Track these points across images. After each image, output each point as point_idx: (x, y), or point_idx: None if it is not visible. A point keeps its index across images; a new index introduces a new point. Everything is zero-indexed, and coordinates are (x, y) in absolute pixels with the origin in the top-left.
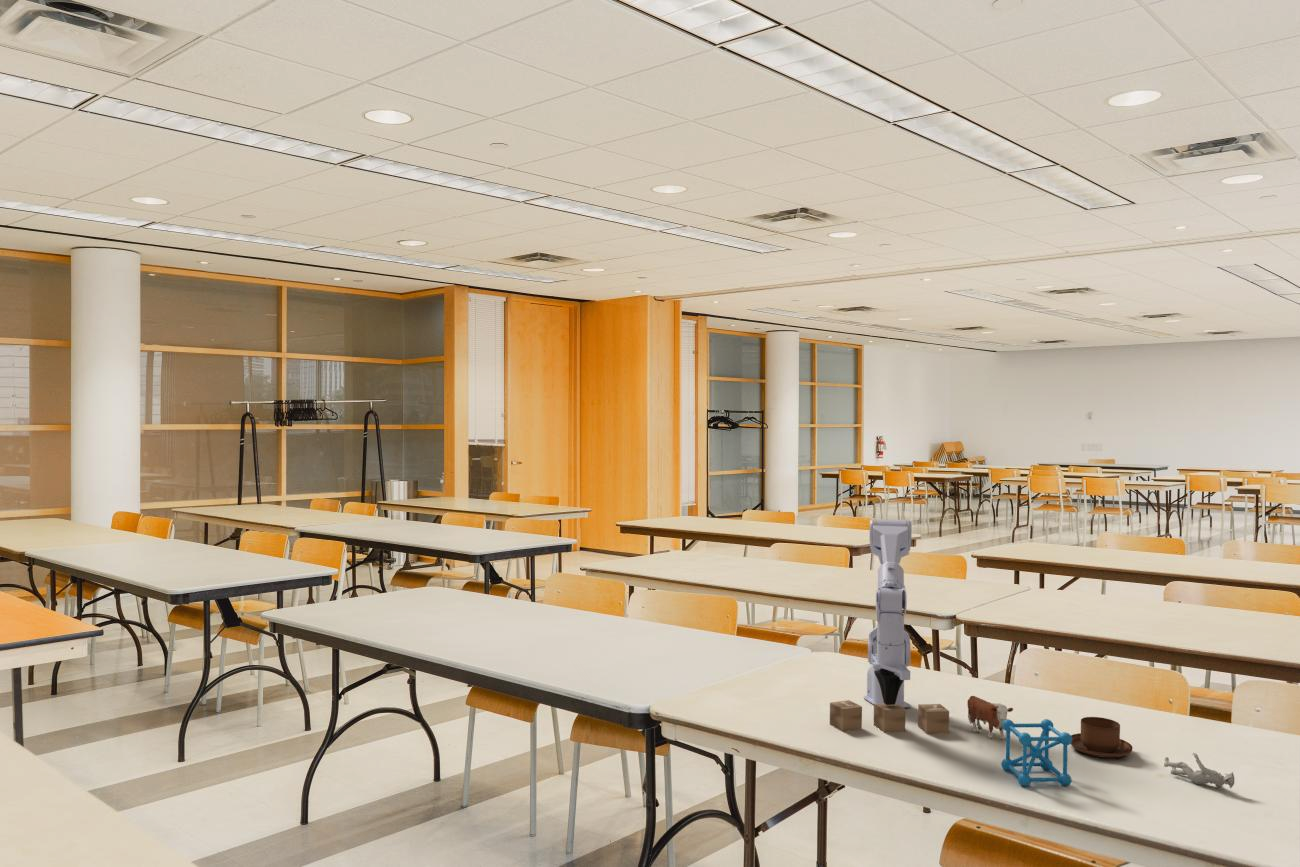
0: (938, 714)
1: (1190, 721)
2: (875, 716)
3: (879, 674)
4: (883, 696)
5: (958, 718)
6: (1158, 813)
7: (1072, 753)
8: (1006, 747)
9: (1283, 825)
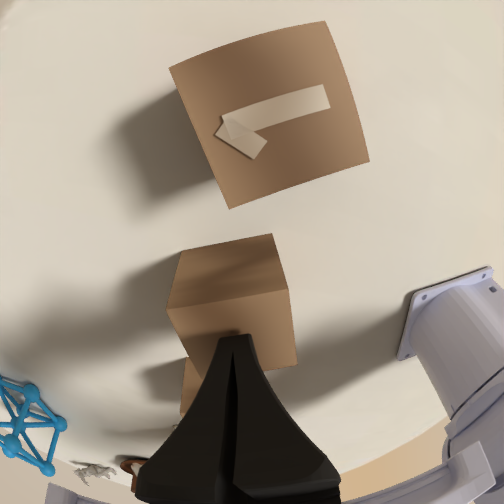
0: None
1: None
2: (261, 257)
3: (197, 491)
4: (237, 360)
5: (302, 414)
6: (11, 418)
7: (138, 454)
8: (20, 413)
9: (40, 449)
